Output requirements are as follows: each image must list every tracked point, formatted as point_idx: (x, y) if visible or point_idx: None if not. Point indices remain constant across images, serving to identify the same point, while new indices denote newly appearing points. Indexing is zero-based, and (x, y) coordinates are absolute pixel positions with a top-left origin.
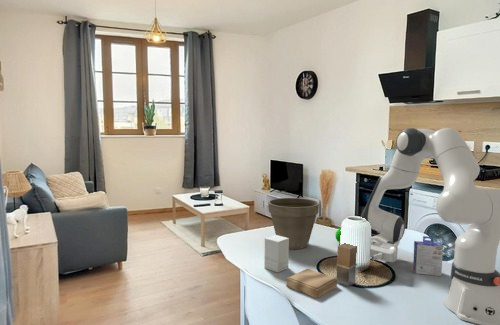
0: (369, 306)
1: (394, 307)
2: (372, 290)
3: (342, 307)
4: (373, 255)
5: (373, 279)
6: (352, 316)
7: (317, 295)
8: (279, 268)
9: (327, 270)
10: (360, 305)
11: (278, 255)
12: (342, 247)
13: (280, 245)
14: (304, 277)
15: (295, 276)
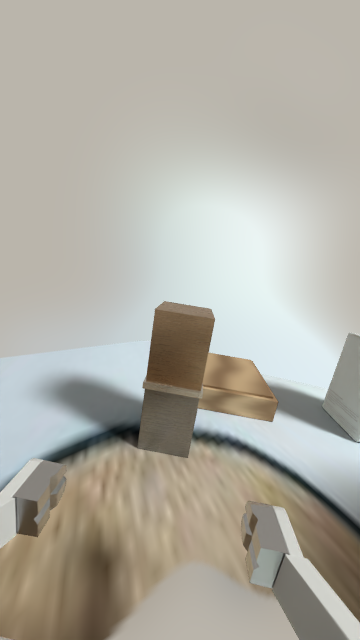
0: (87, 368)
1: (27, 377)
2: (72, 425)
3: (135, 357)
4: (47, 462)
5: (46, 544)
6: (115, 348)
7: None
8: (328, 402)
9: (288, 506)
10: (106, 366)
11: (336, 367)
12: (192, 306)
13: (350, 345)
14: (232, 365)
15: (246, 364)
